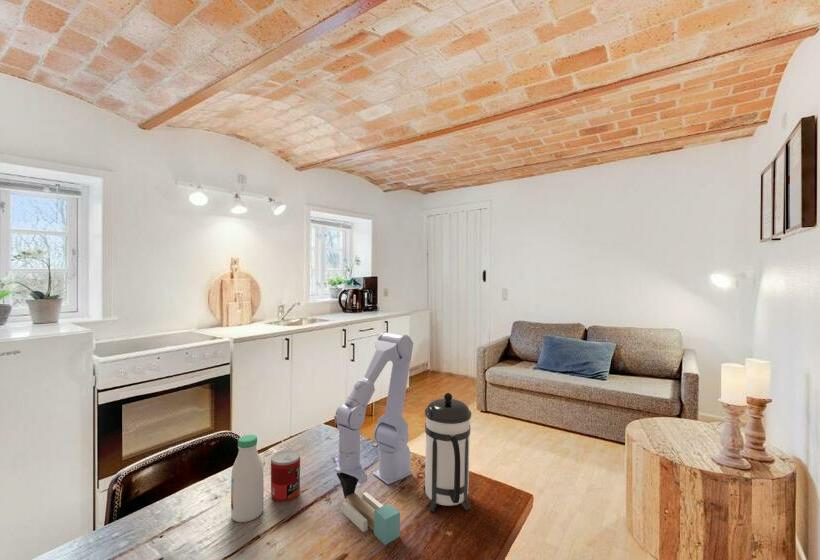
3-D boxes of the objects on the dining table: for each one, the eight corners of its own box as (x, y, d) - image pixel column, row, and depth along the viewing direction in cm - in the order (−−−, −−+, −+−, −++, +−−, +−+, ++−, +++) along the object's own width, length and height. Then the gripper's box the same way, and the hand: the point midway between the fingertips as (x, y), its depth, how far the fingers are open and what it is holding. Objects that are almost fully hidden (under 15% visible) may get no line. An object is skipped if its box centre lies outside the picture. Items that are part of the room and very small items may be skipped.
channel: (366, 500, 105) (366, 491, 105) (388, 519, 98) (388, 509, 98) (341, 511, 100) (342, 502, 100) (363, 532, 93) (363, 522, 93)
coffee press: (406, 501, 105) (407, 393, 104) (441, 478, 117) (443, 381, 116) (457, 531, 93) (459, 410, 93) (491, 502, 105) (493, 395, 104)
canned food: (291, 504, 103) (291, 464, 103) (265, 500, 105) (265, 461, 105) (304, 488, 111) (305, 451, 111) (279, 485, 112) (279, 448, 112)
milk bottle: (269, 508, 102) (269, 434, 101) (248, 526, 94) (248, 446, 94) (246, 501, 104) (246, 429, 104) (224, 519, 97) (224, 441, 96)
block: (388, 526, 95) (388, 503, 95) (399, 536, 92) (400, 511, 91) (374, 534, 92) (374, 510, 92) (385, 544, 89) (385, 519, 89)
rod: (354, 501, 105) (354, 492, 105) (385, 528, 94) (385, 518, 94) (346, 505, 103) (346, 496, 103) (376, 533, 93) (376, 522, 92)
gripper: (323, 443, 107) (323, 491, 108) (351, 464, 96) (350, 516, 97) (345, 436, 112) (344, 482, 112) (373, 455, 101) (373, 505, 101)
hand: (349, 497), depth 105 cm, fingers closed
